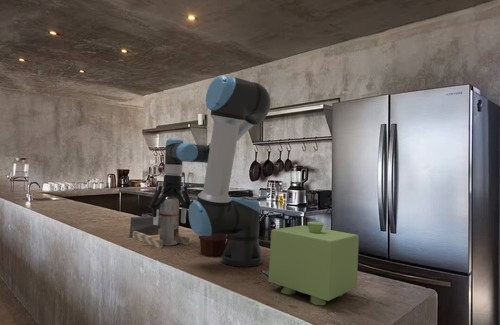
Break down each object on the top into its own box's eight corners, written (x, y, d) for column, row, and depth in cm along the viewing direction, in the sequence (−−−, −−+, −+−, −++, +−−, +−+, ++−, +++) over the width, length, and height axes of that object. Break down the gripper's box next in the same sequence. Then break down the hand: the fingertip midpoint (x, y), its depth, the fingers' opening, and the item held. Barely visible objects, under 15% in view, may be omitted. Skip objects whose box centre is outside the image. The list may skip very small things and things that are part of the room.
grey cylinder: (166, 247, 142) (169, 199, 142) (154, 243, 147) (157, 197, 147) (182, 244, 149) (185, 198, 149) (170, 241, 154) (172, 196, 154)
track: (189, 244, 149) (190, 223, 150) (159, 248, 139) (160, 226, 139) (157, 233, 169) (158, 215, 169) (129, 236, 158) (130, 217, 159)
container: (356, 295, 97) (359, 224, 97) (327, 310, 85) (331, 229, 85) (299, 278, 109) (302, 216, 110) (267, 289, 97) (271, 219, 98)
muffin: (193, 251, 138) (195, 226, 138) (219, 249, 143) (220, 225, 143) (203, 258, 127) (205, 231, 128) (230, 256, 133) (232, 230, 133)
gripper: (191, 175, 160) (188, 220, 159) (141, 173, 143) (138, 224, 142) (201, 176, 155) (198, 223, 154) (150, 174, 137) (147, 227, 137)
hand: (169, 223), depth 148 cm, fingers open, 13 cm apart
